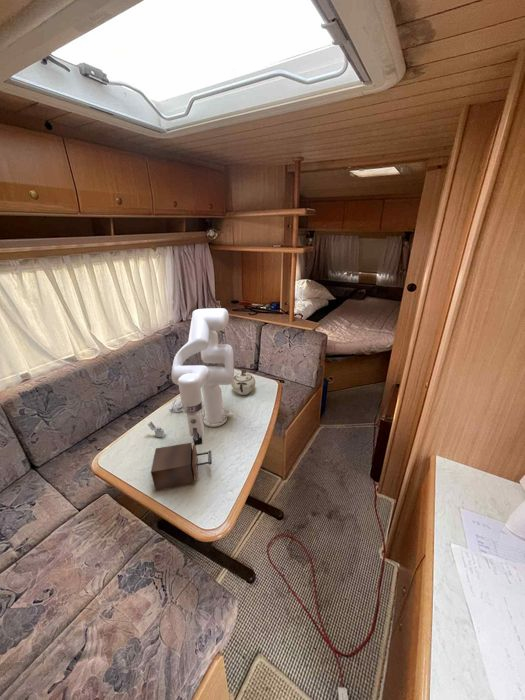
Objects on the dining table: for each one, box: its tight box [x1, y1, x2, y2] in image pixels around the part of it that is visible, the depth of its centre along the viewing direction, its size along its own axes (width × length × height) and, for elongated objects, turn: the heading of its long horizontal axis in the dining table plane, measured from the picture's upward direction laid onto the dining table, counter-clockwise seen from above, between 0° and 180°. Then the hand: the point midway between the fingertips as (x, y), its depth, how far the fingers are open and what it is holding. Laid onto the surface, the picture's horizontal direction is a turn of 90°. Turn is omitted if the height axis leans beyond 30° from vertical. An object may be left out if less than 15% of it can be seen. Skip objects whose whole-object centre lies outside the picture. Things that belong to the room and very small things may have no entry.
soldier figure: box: [168, 399, 183, 413], centre depth 156 cm, size 8×5×12 cm
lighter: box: [147, 421, 166, 439], centre depth 135 cm, size 7×2×8 cm, turn 79°
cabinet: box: [150, 442, 195, 492], centre depth 112 cm, size 15×13×10 cm
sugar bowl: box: [230, 369, 256, 396], centre depth 169 cm, size 20×15×15 cm
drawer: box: [191, 444, 213, 481], centre depth 113 cm, size 20×11×8 cm, turn 102°
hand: (198, 443), depth 110 cm, fingers closed
